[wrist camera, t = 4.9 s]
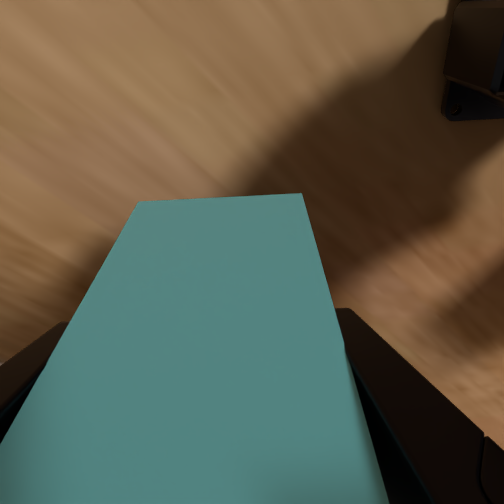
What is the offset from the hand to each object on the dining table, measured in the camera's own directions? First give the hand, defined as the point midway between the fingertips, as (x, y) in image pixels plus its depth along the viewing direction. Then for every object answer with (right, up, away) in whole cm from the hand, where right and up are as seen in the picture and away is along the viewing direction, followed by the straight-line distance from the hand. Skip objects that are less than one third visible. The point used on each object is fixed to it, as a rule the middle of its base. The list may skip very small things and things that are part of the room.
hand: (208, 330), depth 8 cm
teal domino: (0, +3, +4) cm, 5 cm away
